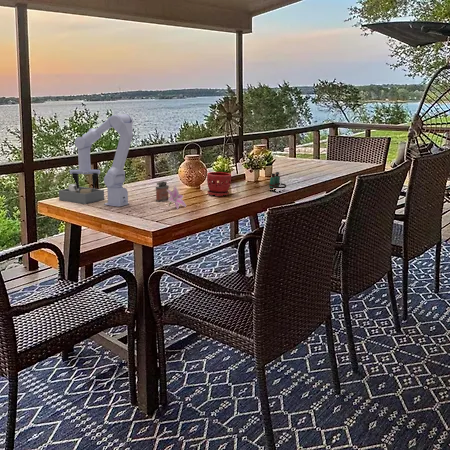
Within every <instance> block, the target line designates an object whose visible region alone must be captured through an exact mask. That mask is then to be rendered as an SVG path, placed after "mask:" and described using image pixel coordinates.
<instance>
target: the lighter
mask: <svg viewBox="0 0 450 450" xmlns="http://www.w3.org/2000/svg"><path fill="white" fill-rule="evenodd" d="M156 185H157V186H155V196H156V197H155V202H157V203H161V202H163V203H164V202H167V201H168V199H169V193H168V191H167V189H168V190H169V186H170V185H168V181H165V180H163V181H162V180H161V181H157V182H156Z"/></svg>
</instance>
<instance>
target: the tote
mask: <svg viewBox="0 0 450 450" xmlns="http://www.w3.org/2000/svg"><path fill="white" fill-rule="evenodd" d="M81 189H92V192H91V193H86V194H83V193H80V190H81ZM58 200H59V201H62V202H69V203H76V204H81V205H88V204H92V203H96V202H99V201H103V200H105V190H104V189H100V188H94V189H93V187H85V186H79V193H76V192H69V187H68V188H65V189H58Z"/></svg>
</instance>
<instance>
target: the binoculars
mask: <svg viewBox="0 0 450 450" xmlns="http://www.w3.org/2000/svg"><path fill="white" fill-rule="evenodd" d="M280 181H281V176H280V172H278V171H275V173H271V177H270V180H269V185H268V186H269V189H273V188H284V189H285V188H287V184H286V183H282V181H281V182H280ZM274 190H276V189H274Z"/></svg>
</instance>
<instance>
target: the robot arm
mask: <svg viewBox="0 0 450 450" xmlns="http://www.w3.org/2000/svg"><path fill="white" fill-rule="evenodd" d="M133 123H134V121H133V118H132V116H131V115H130V114H129V113H121V114H117V113H116V114H115V113H113V114H112V115H110V116H109V117H107V119H105V121H103V122H102V123H101V124H100V125H98V127H96V128H94V127H91V128H89V129H88V131H87V132H86V133H83V134H82V136H78V137H76V138H75V139H74V145H75V147H76V148H77V157H78V159H77V160H78V169H69V174H70V175H71V177H72V179H73V181H74V184H76V186H77V189H79V187H80V183H79V177H80V176H79V175H91V177H92V188H93V189H96V182H97V179H98V176H99V175H100V174H101V170H100V169H92V166H91V164H92V163H91V148H92V145H93V144H94V143H96V142H97V141H98V140H99V139H101V136H102V134H104V133H105V132H107V131H108V130H109V129H111V128H113V129H114V130H115V131H116V133H117V134H118V135H119V136H120V137H119V140H118V144H117V147H116V149H115V150H116V152H115V153H114V157H113V161H112V165H111V167H110V168H109V169H108V170H107V172H106V174H105V175H104V178H103V183H104V185H105V186H106V188H107V190H106V191H107V202H105V203H103V205H106V206H113V207H118V208H119V207H123V206H127V205H129V204H130V202H129V196H128V195H129V192H128V189H127V188H126V187H123V186H124V183H125V181H126V171H125V170H124V167H125V164H126V161H127V157H128V154H129V151H130V147H131V143H132V139H133V136H134V131H133Z"/></svg>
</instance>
